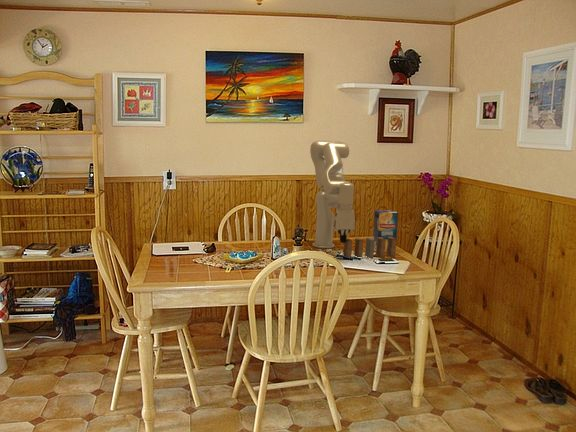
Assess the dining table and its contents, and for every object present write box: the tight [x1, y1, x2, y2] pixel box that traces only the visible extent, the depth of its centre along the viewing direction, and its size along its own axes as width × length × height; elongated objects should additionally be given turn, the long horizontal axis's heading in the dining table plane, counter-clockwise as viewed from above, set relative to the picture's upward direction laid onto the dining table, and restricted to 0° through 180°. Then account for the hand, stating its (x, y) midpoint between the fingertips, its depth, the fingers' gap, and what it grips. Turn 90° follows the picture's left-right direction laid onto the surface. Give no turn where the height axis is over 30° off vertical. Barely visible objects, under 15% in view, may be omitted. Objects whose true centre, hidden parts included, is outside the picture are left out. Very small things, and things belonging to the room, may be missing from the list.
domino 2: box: [353, 237, 364, 258], centre depth 288 cm, size 5×2×10 cm, turn 20°
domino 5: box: [386, 237, 397, 258], centre depth 294 cm, size 5×2×10 cm, turn 20°
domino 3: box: [364, 237, 375, 259], centre depth 290 cm, size 5×2×10 cm, turn 20°
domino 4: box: [375, 237, 386, 259], centre depth 292 cm, size 5×2×10 cm, turn 20°
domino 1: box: [342, 238, 353, 258], centre depth 285 cm, size 5×2×10 cm, turn 20°
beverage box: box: [372, 209, 399, 253], centre depth 306 cm, size 7×11×22 cm, turn 103°
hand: (342, 242), depth 284 cm, fingers closed
